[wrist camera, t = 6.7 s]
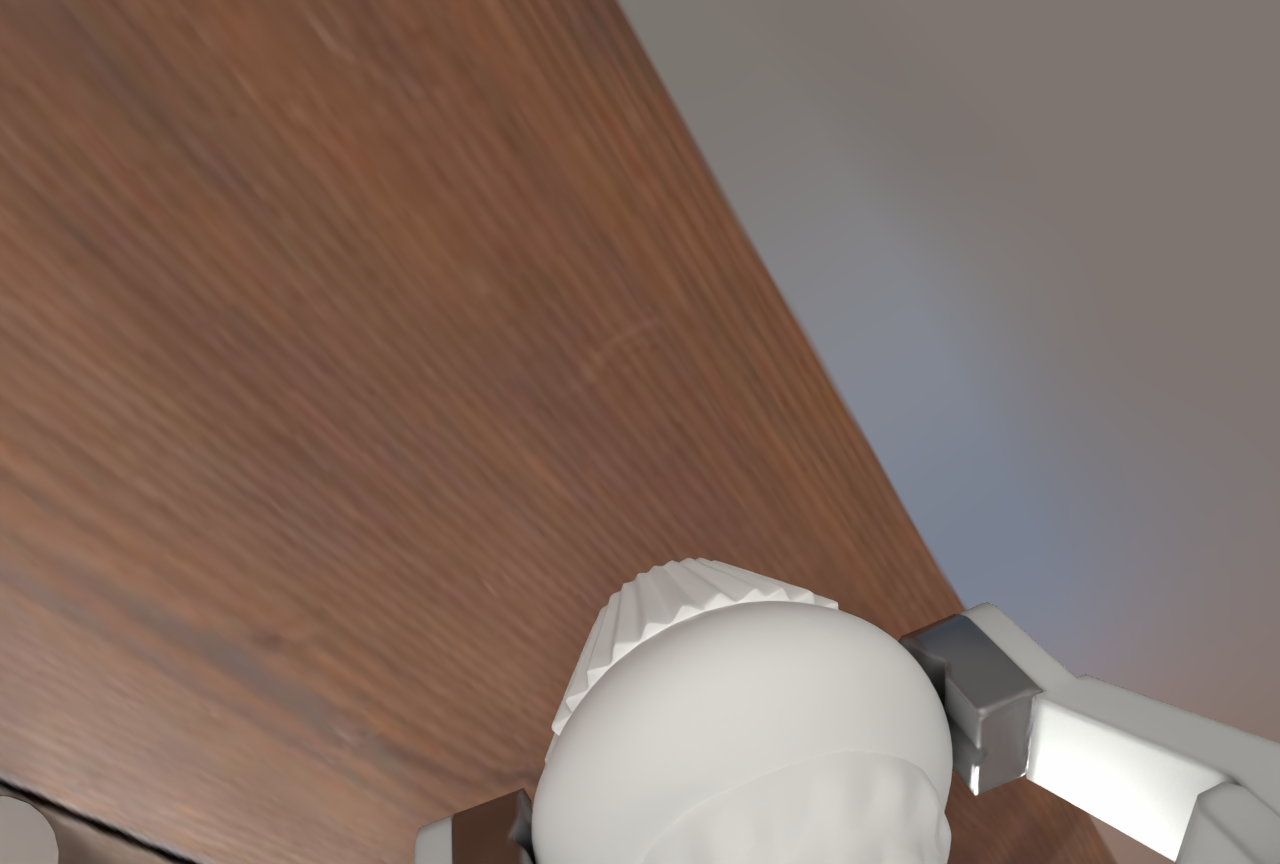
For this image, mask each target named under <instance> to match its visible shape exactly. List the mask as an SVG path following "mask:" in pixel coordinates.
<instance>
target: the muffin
mask: <svg viewBox="0 0 1280 864" xmlns="http://www.w3.org/2000/svg"><path fill="white" fill-rule="evenodd" d="M552 730H553V731H554V732H555V733H554V735H553V738H552V741H551V743H550V746H549V749H548V751H547V754H546V757H545V763H546V765H545V767H544V770H543V772H542V775H541V778H540V780H539V784H538V787H537V790H536V794H535V798H534V805H533V812H532V845H533V852H534V857H535V862H536V864H947V862H948V857H949V852H950V846H951V831H950V827H949V823H948V821H947V818H946V816H945V814H944V810H945V807H946V803H947V799H948V794H949V789H950V784H951V777H952V767H953V760H952V742H951V734H950V729H949V725H948V721H947V717H946V714H945V711H944V708H943V705H942V703H941V701H940V698H939V696H938V694H937V692H936V690H935V688H934V686H933V685H932V683H931V681H930V679H929V677H928V676H927V675H926V673H925V672H924V670H923V669H922V667H921V666H920V665H919V663H918V662H917V661H916V660H915V658H914V657H913V656H912V655H911V654H910V653H909V652H908V651H907V650H906V649H905V648H904V647H903V646H902V645H901V644H900V643H899V642H897V641H896V640H895V639H894V638H893V637H891V636H890V635H888V634H887V633H886V632H884V631H883V630H881V629H880V628H878V627H876V626H875V625H873V624H871V623H869V622H867V621H865V620H863V619H861V618H859V617H856V616H854V615H851V614H849V613H846V612H843V611H841V610H838V603H837V602H836V601H833V600H831V599H828V598H825V597H822V596H819V595H816V594H813V593H812V592H811V591H809V590H807V589H804V588H800V587H797V586H794V585H791V584H788V583H785V582H782V581H779V580H776V579H773V578H769V577H766V576H763V575H760V574H757V573H754V572H751V571H748V570H745V569H742V568H738V567H735V566H732V565H729V564H726V563H723V562H719V561H709V560H706V559H704V558H698V559H696V560H694V559H692V558H686V559H684V560H683V561H681V562H680V563H678V562H676V561H673V560H671V561H670V562H668V563H667V564H666V565H664V566H653V567H652V569H651V570H650V571H649V572H647V573H639V574H637V576H636V578H635V580H634V581H632V582H628V583H624V584H623V586H622V590H621V591H620V592H617V593H614V594H613V595H611V596H610V599H609V602H608V605H606V606H604V607H603V608H601V610H600V612H599V615H598V617H597V620H596V622H594V625H593V627H592V629H591V632H590V634H589V637H588V639H587V641H586V644H585V646H584V648H583V651H582V653H581V655H580V658H579V660H578V663H577V665H576V668H575V670H574V672H573V675H572V677H571V680H570V682H569V684H568V687H567V689H566V692H565V694H564V696H563V699H562V701H561V704H560V706H559V708H558V711H557V713H556V716H555V718H554V720H553V723H552Z"/></svg>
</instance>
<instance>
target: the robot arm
mask: <svg viewBox="0 0 1280 864" xmlns="http://www.w3.org/2000/svg"><path fill="white" fill-rule="evenodd" d="M898 642H899V643H900V644H901V645H902V646H903V647H904V648H905V649H906V650H907V651H908V652H909V653H910V654H911V655H912V656H913V657H914V658H915V660H916V661H917V662H918V663H919V665H920V666H921V667H922V669H923V670H924V672H925V673H926V675H927V676H928V677H929V679H930V681H931V683H932V685H933V686H934V688H935V690H936V692H937V694H938V696H939V698H940V701H941V703H942V705H943V708H944V711H945V714H946V717H947V721H948V725H949V729H950V734H951V742H952V760H953V768H954V769H955V771H956V772H957V773H958V775H959V776H960V777H961V778H962V780H963V781H964V782H965V783H966V785H967V786H968V787H969V789H970V790H971V791H972V792H973V794H974V795H977V794H980V793H982V792H985V791H987V790H990V789H992V788H995V787H997V786H1000V785H1002V784H1005V783H1007V782H1010V781H1012V780H1014V779H1017V778H1019V777H1022V776H1024V775H1027V779H1029V780H1031V781H1033V782H1034V783H1036V784H1038V785H1040V786H1042V787H1043V788H1045V789H1047V790H1049V791H1050V792H1052V793H1054V794H1056V795H1057V796H1059V797H1061V798H1063V799H1065V800H1066V801H1068V802H1070V803H1072V804H1073V805H1075V806H1077V807H1079V808H1080V809H1082V810H1084V811H1086V812H1088V813H1089V814H1091V815H1093V816H1095V817H1097V818H1098V819H1100V820H1102V821H1104V822H1105V823H1107V824H1109V825H1111V826H1112V827H1115V828H1116V829H1118V830H1119V831H1121V832H1123V833H1125V834H1127V835H1129V836H1130V837H1132V838H1134V839H1136V840H1137V841H1139V842H1141V843H1142V844H1144V845H1146V846H1148V847H1150V848H1152V849H1153V850H1155V851H1157V852H1159V853H1160V854H1162V855H1164V856H1166V857H1167V858H1169V859H1171V860H1173V861H1174V862H1175V864H1280V744H1279V743H1276V742H1273V741H1271V740H1268V739H1265V738H1262V737H1260V736H1257V735H1254V734H1251V733H1248V732H1246V731H1243V730H1240V729H1237V728H1234V727H1232V726H1229V725H1226V724H1223V723H1220V722H1218V721H1215V720H1212V719H1209V718H1206V717H1204V716H1201V715H1198V714H1195V713H1192V712H1190V711H1187V710H1184V709H1181V708H1178V707H1176V706H1173V705H1170V704H1167V703H1164V702H1162V701H1159V700H1156V699H1153V698H1150V697H1147V696H1145V695H1142V694H1139V693H1136V692H1133V691H1131V690H1128V689H1125V688H1122V687H1120V686H1117V685H1114V684H1111V683H1108V682H1106V681H1103V680H1100V679H1097V678H1094V677H1092V676H1088V675H1086V674H1085V675H1082V676H1080V677H1075V676H1074V675H1073V674H1072V673H1071V672H1070V671H1069V670H1068V669H1066V668H1065V667H1064V666H1063V665H1062V664H1061V663H1060V662H1059V661H1057V660H1056V659H1055V658H1054V657H1053V656H1052V655H1051V654H1049V653H1048V652H1047V651H1046V650H1045V649H1044V648H1043V647H1042V646H1040V645H1039V644H1038V643H1037V642H1036V641H1035V640H1034V639H1033V638H1032V637H1030V636H1029V635H1028V634H1027V633H1026V632H1025V631H1024V630H1022V629H1021V628H1020V627H1019V626H1018V625H1017V624H1016V623H1015V622H1013V621H1012V620H1011V619H1010V618H1009V617H1008V616H1007V615H1006V614H1005V613H1003V612H1002V611H1001V610H1000V609H999V608H998V607H997V606H995V605H993V604H990V603H988V602H987V603H983V604H980V605H978V606H976V607H973V608H971V609H968V610H966V611H964V612H961V613H959V614H953V615H951V616H949V617H946V618H944V619H942V620H939V621H937V622H934V623H932V624H930V625H927V626H925V627H922V628H920V629H918V630H915V631H913V632H910V633H908V634H906V635H903V636H901V638H900V640H899V641H898ZM532 812H533V810H532V803H531V800H530V798H529V796H528V794H527V793H526V791H525V789H524V788H523V789H520V790H517V791H515V792H512V793H509V794H507V795H504V796H501V797H499V798H496V799H493V800H491V801H488V802H486V803H483V804H480V805H478V806H475V807H472V808H470V809H467V810H464V811H462V812H459V813H456V814H453V815H450V816H448V817H445V818H443V819H440V820H438V821H435V822H433V823H430V824H428V825H425V826H423V827H420V828H419V830H418V833H417V837H416V840H415V853H414V864H536V862H535V857H534V852H533V845H532Z"/></svg>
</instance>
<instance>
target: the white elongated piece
mask: <svg viewBox="0 0 1280 864" xmlns="http://www.w3.org/2000/svg"><path fill="white" fill-rule="evenodd" d="M58 854H59V851H58V847H57V842H56V838H55V834H54V831H53V830H52V828H51V826H50V825H49V823H48V822H47V820H46V818H45V817H44V815H42V814H41V813H40V812H39V811H37V810H36V809H35V808H33V807H32V806H31V805H30V804H28V803H26V802H23V801H20V800H17V799H14V798H11V797H6V796H0V864H58Z"/></svg>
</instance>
